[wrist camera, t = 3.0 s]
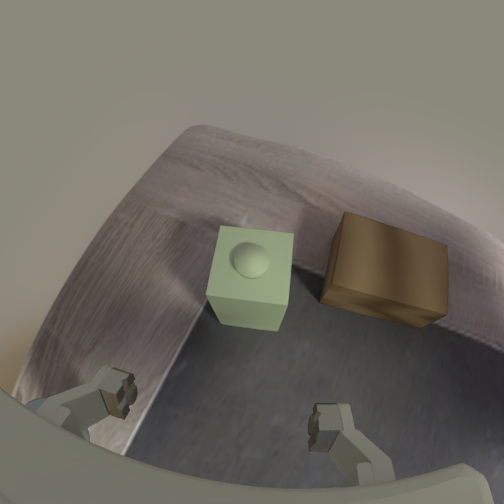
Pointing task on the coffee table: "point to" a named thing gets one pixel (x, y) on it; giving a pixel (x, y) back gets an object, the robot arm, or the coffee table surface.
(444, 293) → the base brick
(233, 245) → the green brick
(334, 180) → the coffee table surface
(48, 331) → the coffee table surface
